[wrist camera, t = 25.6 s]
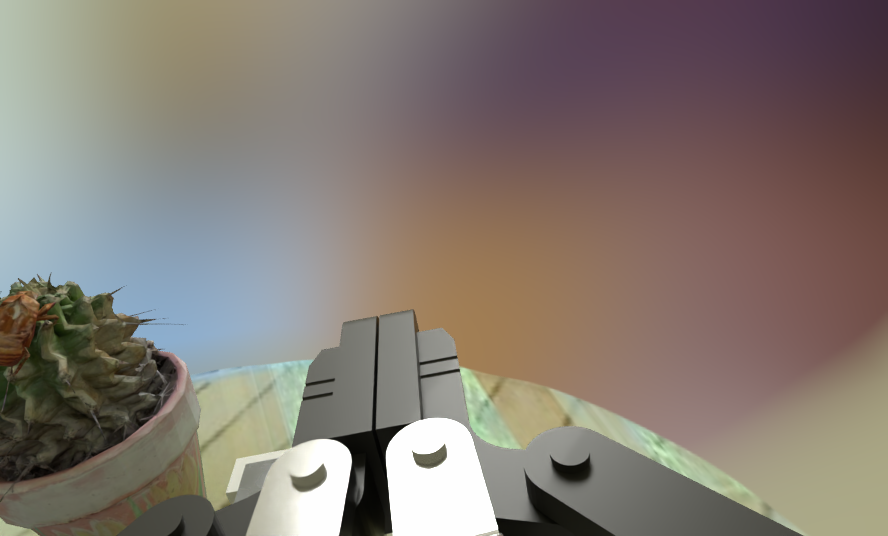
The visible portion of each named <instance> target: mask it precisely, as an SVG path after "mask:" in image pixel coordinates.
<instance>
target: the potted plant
mask: <svg viewBox="0 0 888 536" xmlns="http://www.w3.org/2000/svg"><path fill="white" fill-rule="evenodd" d="M50 275H51V274H50ZM38 277H39V281H40V282H41V283H40V282H37V281H36V279H35V278H33V279H32V280H31V281H30V282H29V283H28V284H26V283H25V282H23V281H22V280H20V279H19V278H18V280H19V281H20V282H15V283H14V284H12V285H11V290H10V294H9V295H8V296H7V297H4V298H2V299H1V298H0V517H1V518H2V519H3V520H4V522H5V523H7V524H11V525H15V526H20V527H24V528H28V529H29V528H30V529H32V530H33V531H34V532H36V533H37V534H38V535H40V536H116V535H117V534H119V533H120V532H121V531H122V530H124V529H125V528H126V527H127V526H128V525H130V524H131V523H132V522H133V521H134V520H136V519H137V518H138V517H139V516H140V515H142V514H143V513H144V512H146V511H147V510H148V509H150V508H152V507H153V506H155V505H157V504H159V503H161V502H163V501H165V500H167V499H170V498H173V497H177V496H181V495H198V496H201V497H204V498H206V489H205V482H204V475H203V467H202V460H201V453H200V447H199V440H198V434H197V429H198V428H199V419H200V411H201V408H200V405H199V402H198V399H197V396H196V393H195V390H194V387H193V384H192V381H191V378H190V375H189V372H188V369H187V366H186V363H184V362H183V361H182V360H181V359H179V358H178V357H177V356H176V355H174V354H173V353H170V352H163V351H158V350H161V349H156V348H155V346H154V342H153V341H149V340H148V341H146V338H136V337H131V336H132V335H133V333H134V331H135V330H136V329H137V327H138V325H143V324H140V323H143V322H147V321H152V320H155V319H146V320H139V318H138V316H136V317H130V316H126V315H125V314H123V313H119V314H114V312H113V309H112V303H113V299H114V298H113V297H112V296H111V295H112V294H113V293H115V292H117V291H118V290H120V289H118V290H116V291H114V292H112V293H103V294H99V295H97V296H94V297H91V296H90V297H87V296H85V295H84V294H83V292H82V290H81V289H80V287H79V285H78V284H75V283H74V282H71V281H67V283H66V284H65V285H64V286H62V285H59V286H58V287H54V286H52V285H51V283H50V277H49V280H48V282H45V281H44V280H43V279H42V278H41V277H40V276H38ZM21 283H22V284H23V285H24V287H22V286H21ZM136 315H137V314H136ZM132 316H133V315H132ZM145 325H146V324H145ZM206 499H207V498H206Z"/></svg>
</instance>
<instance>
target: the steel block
mask: <svg viewBox="0 0 888 536" xmlns="http://www.w3.org/2000/svg"><path fill="white" fill-rule="evenodd" d="M277 459H278V458H276V459H270V460H265V461H260V462H255V463H249V464H246V465H245V468H244V471H243V474H242V478H241V481H240V484H239V488H238V491H237V494H236V498H235V501H234V503H236V502H238V501H240V500H243V499H245V498H247V497H249V496H251V495H253V494H255V493H257V492H258V491H260V490H262V487H263V484H264V481H265V478H266V475H267V473H268V471H269V469H270V468H271V466H272V465H273V463H274V462H275V461H276V460H277Z"/></svg>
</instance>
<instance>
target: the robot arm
mask: <svg viewBox="0 0 888 536" xmlns="http://www.w3.org/2000/svg"><path fill="white" fill-rule="evenodd" d="M305 384H306V387H305V388H304V393H303V397H302V398H303V401H302V402H301V407H300V412H299V416H298V421H297V426H296V430H295V435H294V440H293V445H292V448H291V449H290V450H288V451H287V452H285V453H284V454H282V455H281V456H280V457H279V458H278V459H277V460H276V461H275V462H274V463H273V465H272V466H271V468H270V469H269V471H268V473H267V475H266V478H265V481H264V484H263V487H262V490H260V491H258V492H257V493H255V494H253V495H251V496H249V497H247V498H245V499H243V500H240V501H238V502H236V503H234V504H231V505H229V506H227V507H225V508H222V509H220V510H218V511H214V509H213V506H212V505H211V503H210V502H209V501H208V500H207V499H206V498H204V497H201V496H198V495H181V496H177V497H173V498H170V499H167V500H165V501H163V502H161V503H159V504H157V505H155V506H153V507H152V508H150V509H148V510H147V511H146V512H144V513H143V514H142V515H140V516H139V517H138V518H137V519H136V520H134V521H133V522H132V523H131V524H130V525H128V526H127V527H126V528H125V529H124V530H122V531H121V532H120V533H119V534H117V535H116V536H384V534H389V533H393V535H394V536H803V535H801V534H799V533H797V532H795V531H793V530H791V529H789V528H787V527H785V526H783V525H781V524H779V523H777V522H775V521H773V520H771V519H769V518H767V517H765V516H763V515H761V514H759V513H757V512H755V511H753V510H751V509H749V508H747V507H745V506H743V505H741V504H739V503H737V502H735V501H733V500H731V499H729V498H727V497H725V496H723V495H721V494H719V493H717V492H715V491H713V490H711V489H709V488H707V487H705V486H703V485H701V484H699V483H697V482H695V481H693V480H691V479H689V478H687V477H685V476H683V475H681V474H679V473H677V472H675V471H673V470H671V469H669V468H667V467H665V466H663V465H661V464H659V463H657V462H655V461H653V460H651V459H649V458H647V457H645V456H643V455H641V454H639V453H637V452H635V451H633V450H631V449H629V448H627V447H625V446H623V445H621V444H619V443H617V442H615V441H613V440H611V439H609V438H607V437H605V436H603V435H601V434H599V433H597V432H595V431H593V430H590V429H587V428H583V427H576V426H565V427H557V428H553V429H550V430H547V431H545V432H543V433H541V434H539V435H538V436H536V437H535V438H534V439H533V440H532V441H531V442H530V443H529V444H528V446H527V448H526V450H521V449H509V448H502V447H498V446H494V445H492V444H489V443H487V442H486V441H484V440H482V439H481V438H480V437H478V436H477V435H476V434H475V433H474V431H473V430H472V428H471V426H470V423H469V418H468V412H467V407H466V401H465V396H464V390H463V385H462V379H461V374H460V369H459V363H458V358H457V353H456V347H455V342H454V339H453V338H452V337H451V336H450V335H449V334H448V333H447V332H446V331H445V330H444V329H443V328H438V329H432V330H427V331H422V332H419V329H418V324H417V320H416V315H415V312H414V310H407V311H402V312H397V313H391V314H385V315H380V318H378V316H376V317H370V318H364V319H359V320H353V321H348V322H344V323H343V325H342V332H341V339H340V346H339V347H335V348H330V349H324V350H322V351H321V352H320V353H319V355H318V356H317V357H316V358H315V360H314V361H313V362H312V363H311V365H310V366H309V369H308V374H307V378H306V383H305Z"/></svg>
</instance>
